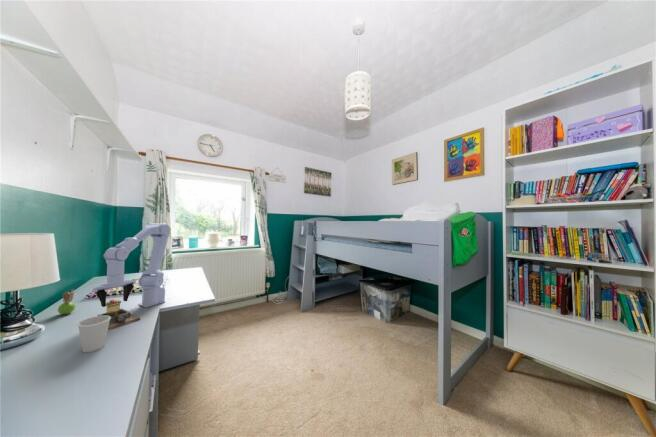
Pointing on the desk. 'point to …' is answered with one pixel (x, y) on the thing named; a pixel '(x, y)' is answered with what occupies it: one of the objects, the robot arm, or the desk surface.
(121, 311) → the board
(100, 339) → the dixie cup
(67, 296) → the snail figurine
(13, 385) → the desk surface
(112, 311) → the cylinder
